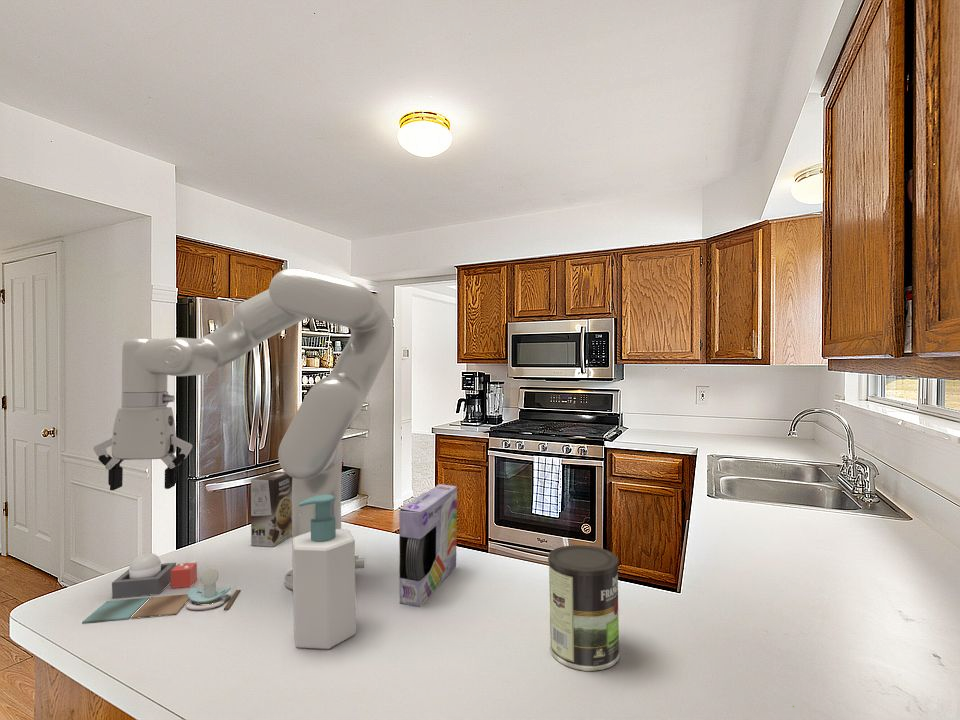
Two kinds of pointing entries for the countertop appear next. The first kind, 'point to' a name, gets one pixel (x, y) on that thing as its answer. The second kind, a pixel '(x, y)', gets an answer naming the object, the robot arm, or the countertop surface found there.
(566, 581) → the coffee can
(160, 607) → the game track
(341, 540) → the soap bottle
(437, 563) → the cake pan box
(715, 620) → the countertop surface
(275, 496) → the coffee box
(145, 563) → the popper dome
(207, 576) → the pacifier
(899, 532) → the countertop surface
